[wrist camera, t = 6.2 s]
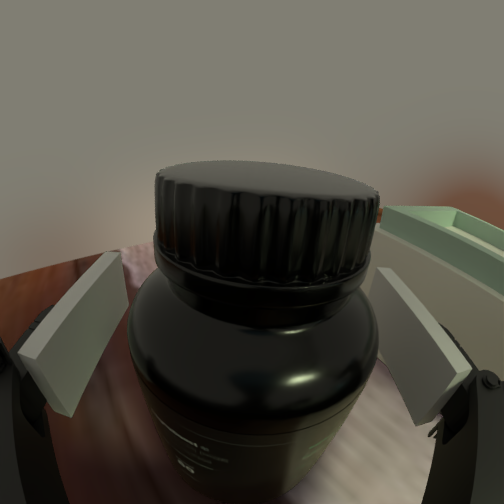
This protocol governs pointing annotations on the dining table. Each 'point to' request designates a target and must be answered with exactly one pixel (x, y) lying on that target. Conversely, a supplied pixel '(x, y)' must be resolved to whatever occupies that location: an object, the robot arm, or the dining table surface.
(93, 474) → the dining table surface
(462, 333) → the riser
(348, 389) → the supplement bottle
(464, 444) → the robot arm
